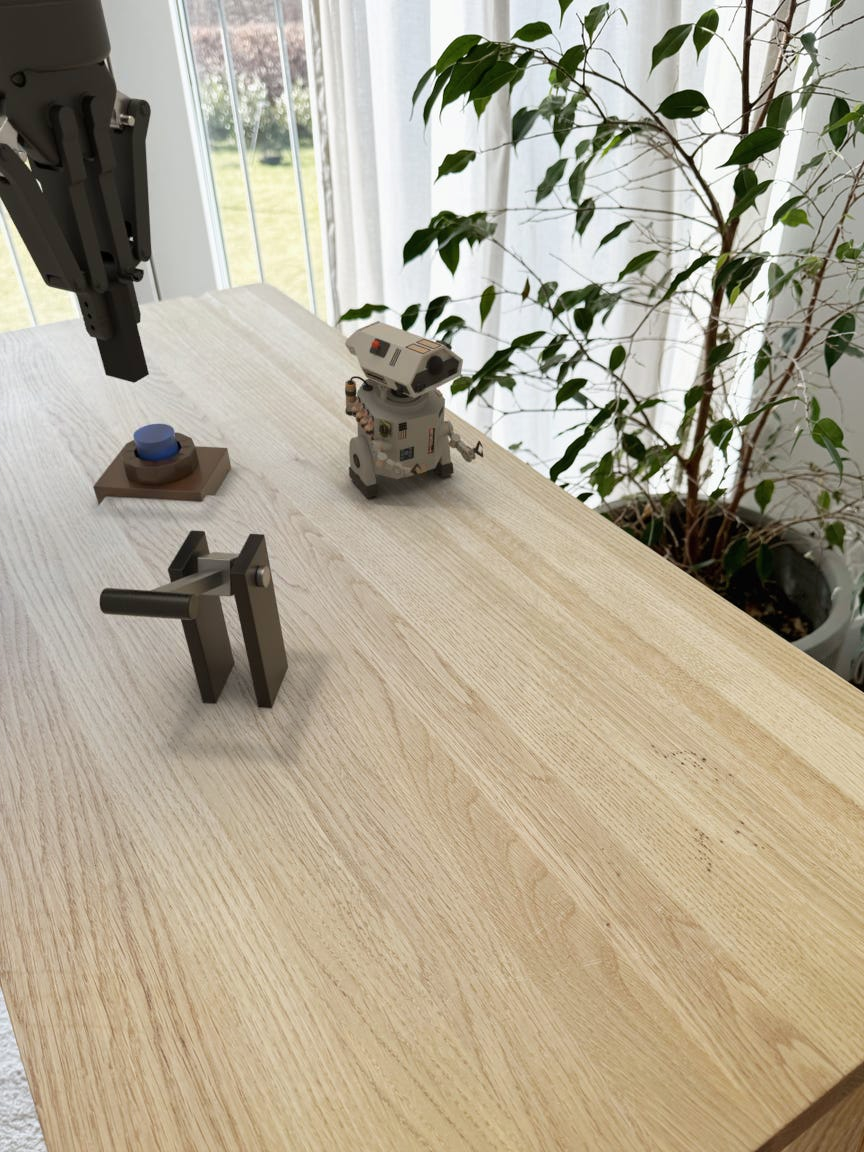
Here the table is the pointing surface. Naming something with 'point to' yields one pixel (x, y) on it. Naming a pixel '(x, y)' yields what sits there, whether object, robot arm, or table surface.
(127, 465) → the switch block
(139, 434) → the button
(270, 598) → the lever bracket
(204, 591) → the lever
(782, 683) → the table surface
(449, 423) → the figurine
